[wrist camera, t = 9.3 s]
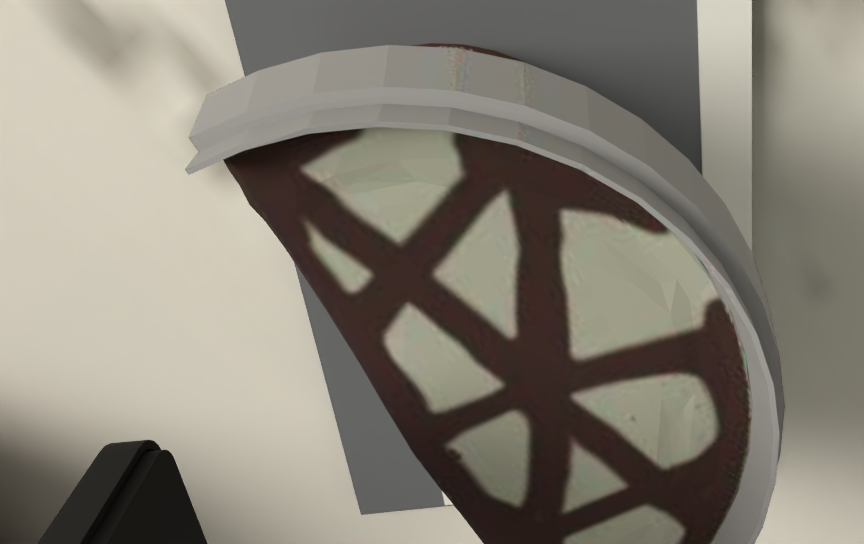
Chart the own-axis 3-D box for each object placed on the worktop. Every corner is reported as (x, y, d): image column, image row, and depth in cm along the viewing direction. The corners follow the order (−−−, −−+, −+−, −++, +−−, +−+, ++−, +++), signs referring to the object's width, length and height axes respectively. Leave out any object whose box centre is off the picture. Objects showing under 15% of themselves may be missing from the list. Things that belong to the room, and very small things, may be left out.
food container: (738, 315, 22) (922, 613, 13) (533, 401, 24) (572, 723, 15) (541, -127, 18) (616, -131, 9) (304, 14, 19) (158, 133, 10)
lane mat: (741, -207, 17) (751, -210, 17) (745, 461, 25) (752, 475, 24) (204, -105, 19) (196, -104, 18) (363, 501, 26) (360, 516, 26)
